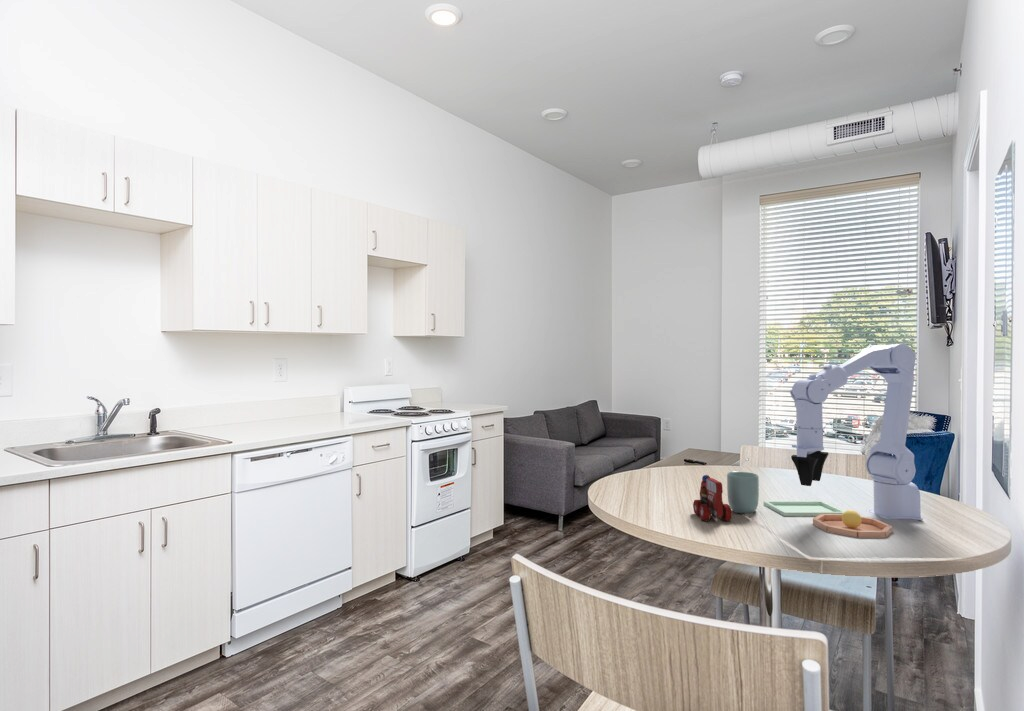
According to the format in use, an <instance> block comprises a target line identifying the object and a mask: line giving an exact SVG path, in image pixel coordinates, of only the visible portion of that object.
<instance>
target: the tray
mask: <svg viewBox="0 0 1024 711" xmlns="http://www.w3.org/2000/svg"><path fill="white" fill-rule="evenodd" d="M763 507H767V508H769V509H771V510H772V511H775V513H778V514H780V515H781V516H783V517H817V516H818V515H820V514H843V513H844V512H845V511H846V510H844V509H841V508H838V507H836V506H834V505H832V504H830V503H827V502H826V501H823V500H808V501H807V500H763Z"/></svg>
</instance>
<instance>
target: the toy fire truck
mask: <svg viewBox="0 0 1024 711" xmlns="http://www.w3.org/2000/svg"><path fill="white" fill-rule="evenodd" d="M723 492H724V491H723V484H722V482H721V481H719V480H717V479H715V478H713V477H711V476H709V475H708V474H705V475H703V476H702V477H701V483H700V489H699V499H694V500H693V503H692V507H693V512H694V513H693V514H695V516H697V517H698V516H699V518H700V519H701V521H703V522H709V521H710V519H711V517H712V518H721V520H722V521H724V522H729V521H731V519H732V517H733V514H732V513H733V512H732V509H731V508H730V506H729V503H728V504H727V503H724V502H723Z"/></svg>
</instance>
